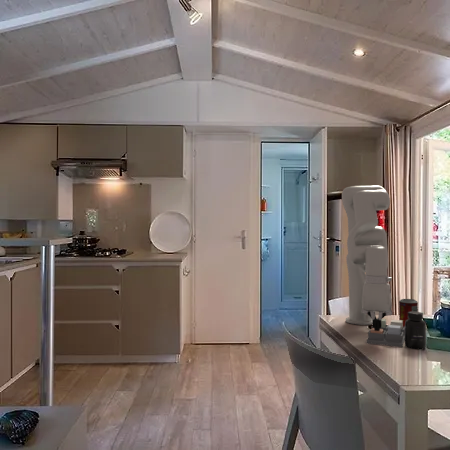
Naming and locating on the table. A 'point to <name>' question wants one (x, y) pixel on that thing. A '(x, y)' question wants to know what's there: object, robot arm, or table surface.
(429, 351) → the table surface
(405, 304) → the soda can
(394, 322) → the ivory key
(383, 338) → the keypad
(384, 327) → the sage key
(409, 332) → the supplement bottle
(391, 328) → the slate key
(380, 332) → the terracotta key
